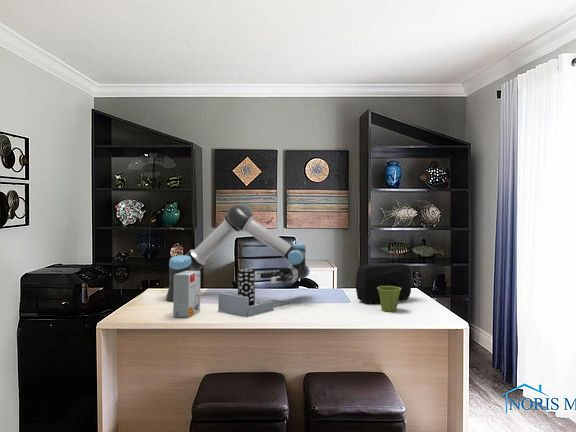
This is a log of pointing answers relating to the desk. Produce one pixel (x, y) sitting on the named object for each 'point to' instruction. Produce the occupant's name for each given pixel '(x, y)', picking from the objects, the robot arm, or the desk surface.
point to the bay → (242, 305)
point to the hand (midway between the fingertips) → (261, 279)
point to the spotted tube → (247, 284)
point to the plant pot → (389, 297)
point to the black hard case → (382, 280)
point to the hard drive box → (186, 294)
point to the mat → (276, 303)
